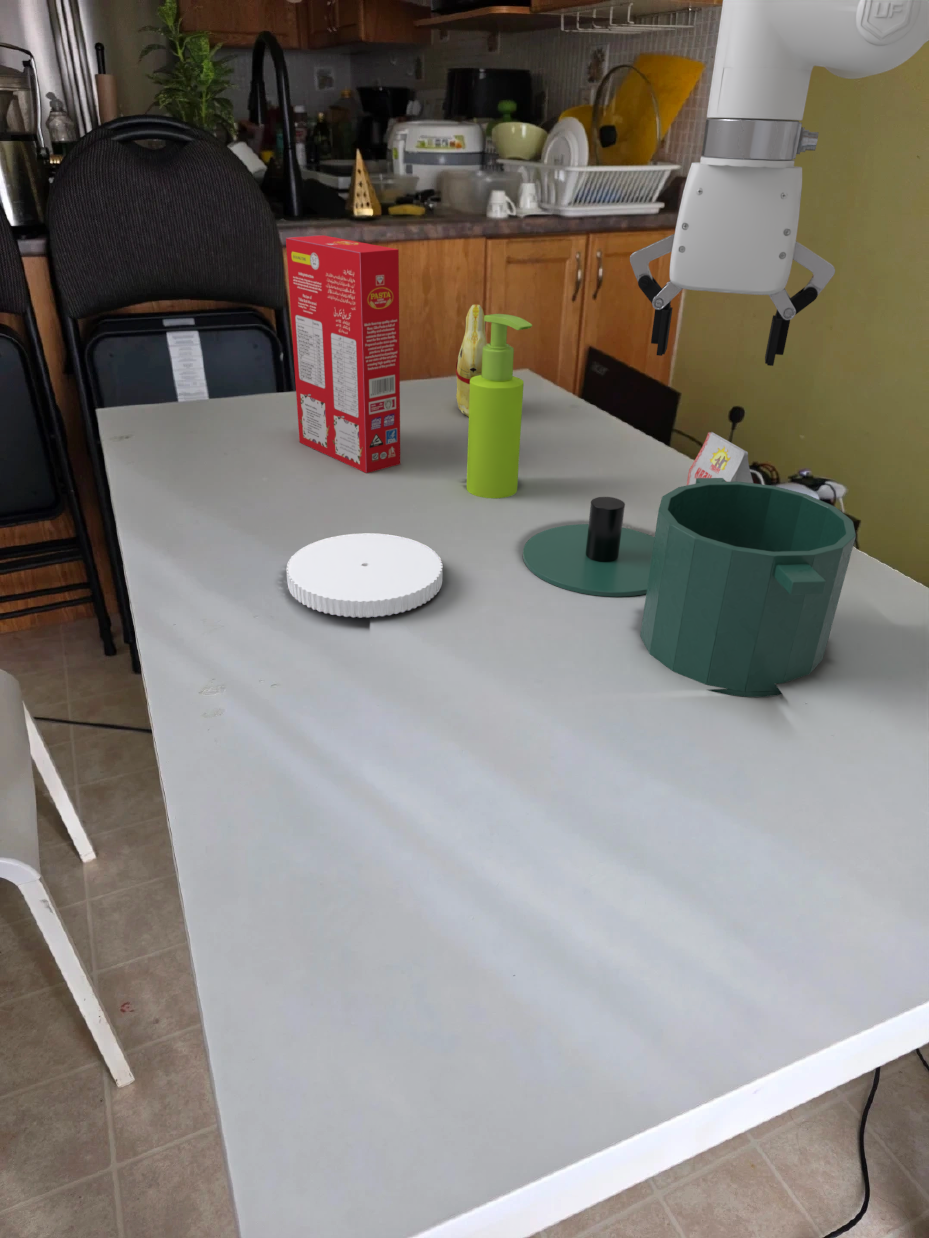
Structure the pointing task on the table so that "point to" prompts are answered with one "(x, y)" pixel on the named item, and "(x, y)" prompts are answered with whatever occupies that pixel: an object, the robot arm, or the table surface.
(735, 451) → the white cardboard box
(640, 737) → the table surface
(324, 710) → the table surface
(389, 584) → the plastic lid
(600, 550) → the pot lid
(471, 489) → the soap dispenser
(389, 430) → the food packaging
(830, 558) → the pot
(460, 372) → the chocolate bunny
